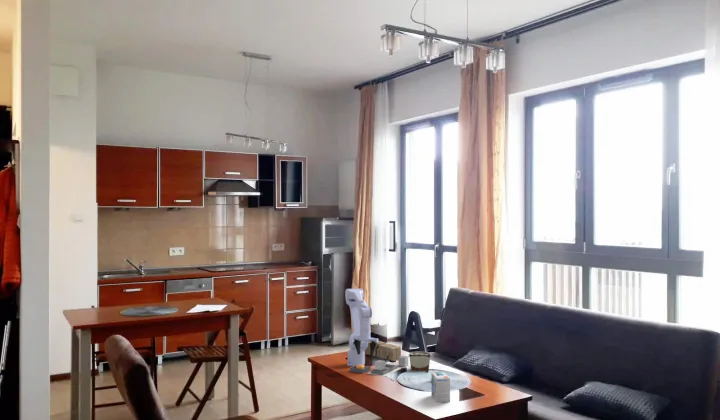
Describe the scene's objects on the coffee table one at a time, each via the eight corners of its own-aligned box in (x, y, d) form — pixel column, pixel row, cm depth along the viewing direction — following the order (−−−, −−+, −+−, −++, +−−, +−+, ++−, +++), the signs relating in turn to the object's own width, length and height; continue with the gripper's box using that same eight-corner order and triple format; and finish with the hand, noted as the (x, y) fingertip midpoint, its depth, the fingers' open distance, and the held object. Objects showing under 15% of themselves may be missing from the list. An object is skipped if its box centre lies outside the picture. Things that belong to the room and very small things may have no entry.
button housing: (350, 373, 303) (350, 367, 303) (357, 370, 310) (357, 364, 310) (362, 375, 299) (362, 369, 299) (370, 372, 306) (370, 366, 306)
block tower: (402, 361, 335) (370, 351, 358) (402, 346, 335) (371, 337, 358) (392, 363, 330) (361, 352, 353) (393, 348, 330) (361, 339, 353)
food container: (431, 369, 311) (430, 351, 311) (431, 372, 305) (431, 353, 305) (408, 369, 312) (408, 351, 312) (408, 372, 306) (408, 353, 306)
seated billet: (375, 372, 300) (375, 361, 301) (378, 371, 304) (378, 360, 304) (381, 373, 298) (381, 362, 298) (385, 372, 302) (385, 360, 302)
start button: (354, 371, 304) (354, 365, 304) (358, 369, 308) (358, 364, 308) (361, 372, 302) (361, 366, 302) (365, 370, 305) (365, 365, 305)
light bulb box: (431, 395, 264) (430, 372, 264) (445, 394, 265) (445, 371, 265) (436, 402, 254) (435, 378, 254) (450, 402, 254) (450, 377, 254)
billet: (398, 367, 315) (398, 357, 315) (401, 366, 318) (401, 355, 319) (405, 368, 313) (405, 357, 313) (408, 367, 316) (408, 356, 317)
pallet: (366, 375, 300) (366, 370, 300) (383, 367, 316) (383, 362, 316) (385, 378, 294) (385, 373, 294) (401, 369, 310) (401, 365, 310)
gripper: (350, 329, 306) (350, 355, 305) (374, 331, 300) (374, 357, 300) (355, 327, 312) (355, 352, 312) (379, 329, 306) (379, 354, 306)
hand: (365, 354), depth 306 cm, fingers open, 7 cm apart
